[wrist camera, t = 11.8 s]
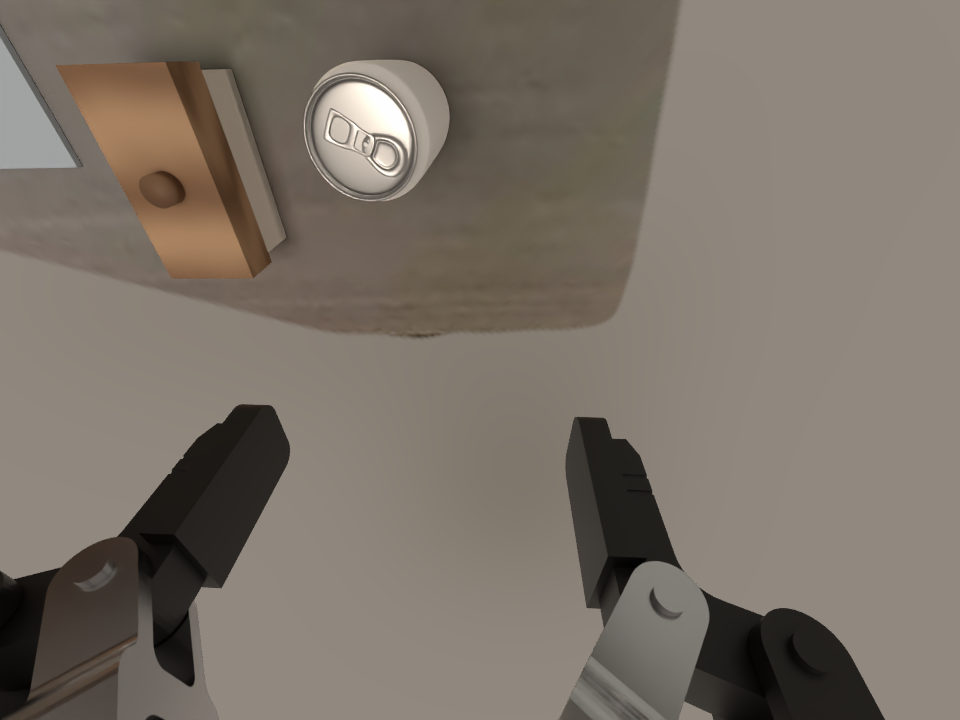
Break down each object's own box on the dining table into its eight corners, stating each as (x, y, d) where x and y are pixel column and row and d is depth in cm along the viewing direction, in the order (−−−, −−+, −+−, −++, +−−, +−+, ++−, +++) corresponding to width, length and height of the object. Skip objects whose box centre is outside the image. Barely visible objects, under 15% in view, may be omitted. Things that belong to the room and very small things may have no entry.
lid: (98, 64, 24) (35, 65, 21) (198, 61, 24) (149, 62, 21) (195, 262, 32) (160, 285, 29) (271, 261, 32) (245, 285, 29)
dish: (149, 71, 28) (104, 73, 25) (231, 68, 28) (196, 70, 24) (221, 237, 35) (193, 255, 32) (286, 237, 35) (265, 255, 32)
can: (430, 178, 31) (400, 231, 22) (352, 136, 30) (282, 173, 20) (465, 91, 28) (447, 109, 18) (378, 38, 26) (308, 27, 17)
